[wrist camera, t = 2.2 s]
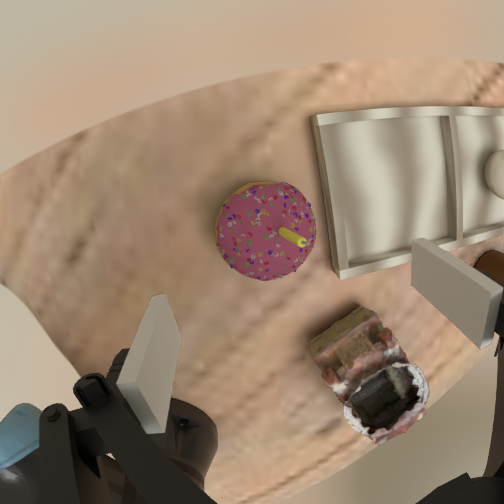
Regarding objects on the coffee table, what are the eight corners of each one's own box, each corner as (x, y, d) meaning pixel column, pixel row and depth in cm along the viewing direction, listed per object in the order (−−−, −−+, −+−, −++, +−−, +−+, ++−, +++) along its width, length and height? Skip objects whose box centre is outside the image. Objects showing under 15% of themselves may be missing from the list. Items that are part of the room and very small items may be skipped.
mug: (445, 319, 38) (484, 356, 29) (443, 272, 35) (489, 306, 26) (501, 286, 37) (541, 313, 28) (502, 241, 35) (548, 264, 26)
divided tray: (332, 270, 34) (340, 279, 31) (309, 116, 28) (316, 114, 26) (519, 220, 34) (530, 225, 32) (514, 110, 29) (527, 110, 26)
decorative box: (398, 273, 35) (444, 312, 25) (423, 376, 41) (454, 418, 32) (299, 326, 36) (320, 382, 26) (348, 418, 42) (368, 466, 33)
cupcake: (269, 157, 29) (297, 166, 18) (320, 226, 32) (368, 270, 21) (198, 213, 31) (182, 255, 19) (252, 277, 33) (266, 344, 22)
